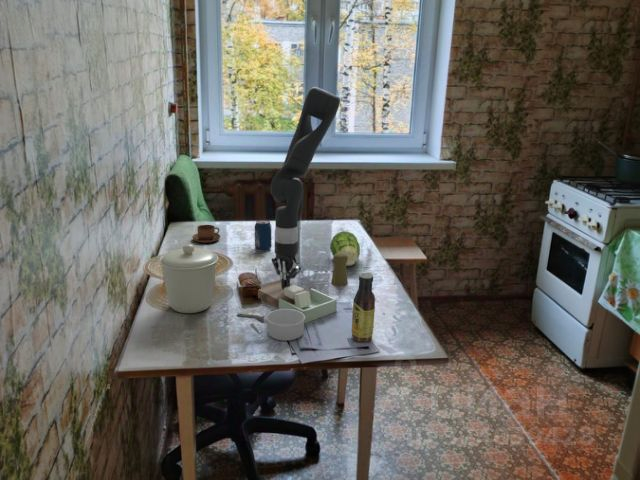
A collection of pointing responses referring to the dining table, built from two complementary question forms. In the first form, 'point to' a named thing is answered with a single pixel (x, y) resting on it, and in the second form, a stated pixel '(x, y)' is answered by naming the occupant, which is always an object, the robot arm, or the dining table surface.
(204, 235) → the cup and saucer
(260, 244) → the soda can
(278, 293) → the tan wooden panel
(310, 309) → the tray
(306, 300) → the tile
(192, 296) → the canister
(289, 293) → the tile
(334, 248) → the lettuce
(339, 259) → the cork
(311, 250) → the dining table surface
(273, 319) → the saucepan
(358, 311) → the sauce bottle
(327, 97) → the robot arm
